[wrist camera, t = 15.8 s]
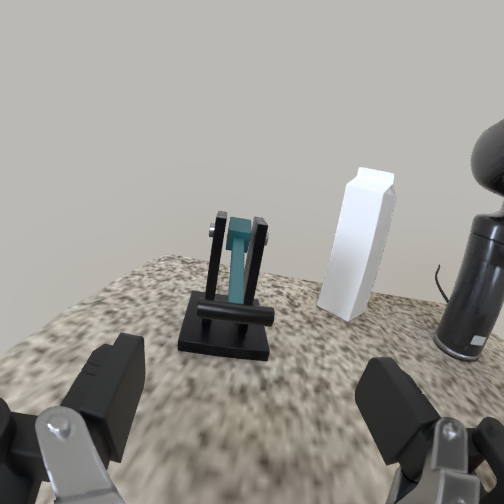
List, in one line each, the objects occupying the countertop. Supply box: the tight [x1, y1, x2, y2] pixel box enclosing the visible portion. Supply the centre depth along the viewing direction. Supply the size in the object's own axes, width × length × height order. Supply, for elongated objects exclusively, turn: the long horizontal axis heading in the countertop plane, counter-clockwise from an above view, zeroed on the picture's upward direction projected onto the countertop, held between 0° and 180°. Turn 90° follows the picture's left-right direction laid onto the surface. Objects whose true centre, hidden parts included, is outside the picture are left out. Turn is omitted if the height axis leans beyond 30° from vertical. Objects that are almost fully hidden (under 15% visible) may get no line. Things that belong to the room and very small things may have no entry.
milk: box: [317, 167, 396, 322], centre depth 39 cm, size 6×6×22 cm
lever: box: [196, 217, 274, 327], centre depth 25 cm, size 13×6×2 cm, turn 4°
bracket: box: [178, 211, 270, 361], centre depth 30 cm, size 12×9×13 cm
